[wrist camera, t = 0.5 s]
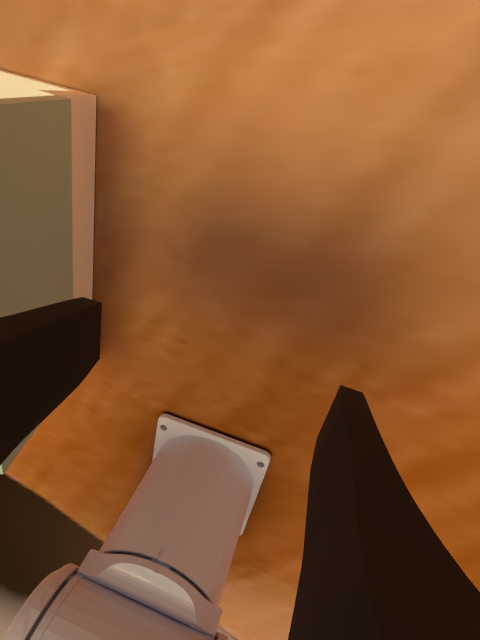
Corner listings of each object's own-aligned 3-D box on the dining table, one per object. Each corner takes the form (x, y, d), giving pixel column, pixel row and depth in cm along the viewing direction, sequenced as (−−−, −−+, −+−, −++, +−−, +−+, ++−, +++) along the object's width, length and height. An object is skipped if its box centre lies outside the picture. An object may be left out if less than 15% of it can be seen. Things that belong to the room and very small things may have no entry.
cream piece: (91, 348, 27) (62, 374, 24) (-8, 312, 28) (-46, 333, 25) (96, 95, 19) (54, 94, 16) (-42, 58, 20) (-102, 51, 17)
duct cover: (63, 374, 24) (73, 376, 24) (-10, 471, 18) (3, 474, 18) (56, 95, 16) (71, 98, 16) (-77, 103, 10) (-54, 108, 10)
